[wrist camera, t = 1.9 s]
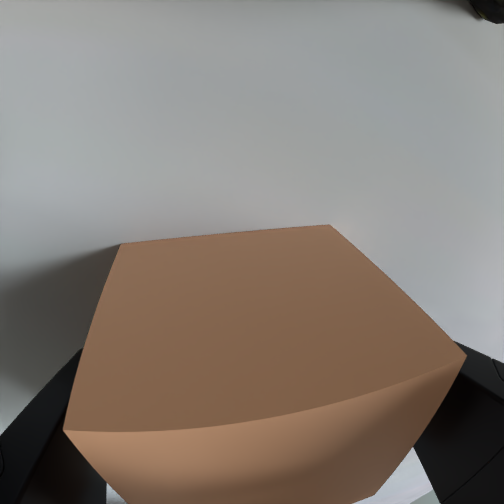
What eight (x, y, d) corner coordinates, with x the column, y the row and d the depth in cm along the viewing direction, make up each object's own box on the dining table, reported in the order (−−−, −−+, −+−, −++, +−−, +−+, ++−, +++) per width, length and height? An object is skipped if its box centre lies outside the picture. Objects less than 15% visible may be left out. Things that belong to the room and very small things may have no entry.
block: (311, 367, 10) (373, 495, 6) (158, 388, 9) (166, 536, 5) (328, 223, 8) (466, 355, 3) (121, 242, 7) (63, 430, 3)
